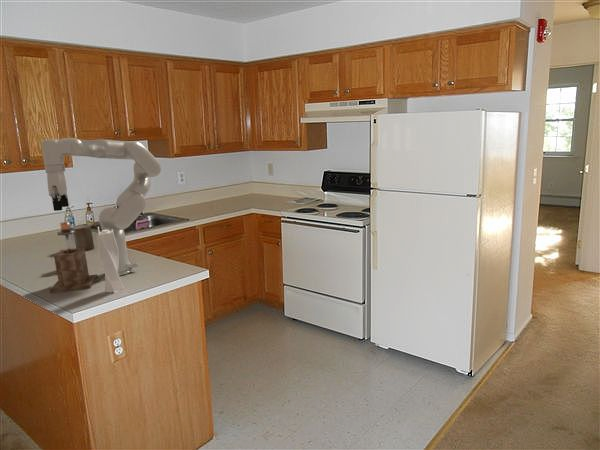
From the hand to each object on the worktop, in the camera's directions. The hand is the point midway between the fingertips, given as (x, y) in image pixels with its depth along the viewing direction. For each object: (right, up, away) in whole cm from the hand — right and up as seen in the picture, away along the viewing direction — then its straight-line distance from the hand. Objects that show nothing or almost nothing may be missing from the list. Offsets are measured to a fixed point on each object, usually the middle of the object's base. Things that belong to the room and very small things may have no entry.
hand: (61, 208), depth 198 cm
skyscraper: (+23, -35, -2) cm, 42 cm away
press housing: (+2, -34, +8) cm, 35 cm away
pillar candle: (-22, -22, +70) cm, 77 cm away
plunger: (+1, -24, +6) cm, 25 cm away
